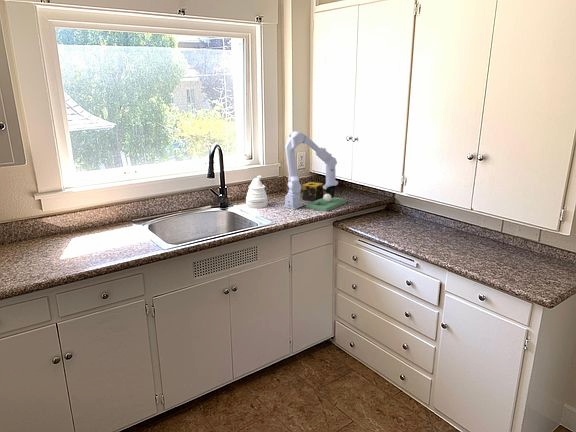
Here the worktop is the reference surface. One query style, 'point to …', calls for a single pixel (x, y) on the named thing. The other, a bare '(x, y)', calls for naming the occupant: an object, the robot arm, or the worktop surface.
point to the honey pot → (256, 195)
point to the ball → (327, 197)
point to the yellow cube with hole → (312, 191)
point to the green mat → (326, 204)
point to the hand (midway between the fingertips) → (330, 198)
